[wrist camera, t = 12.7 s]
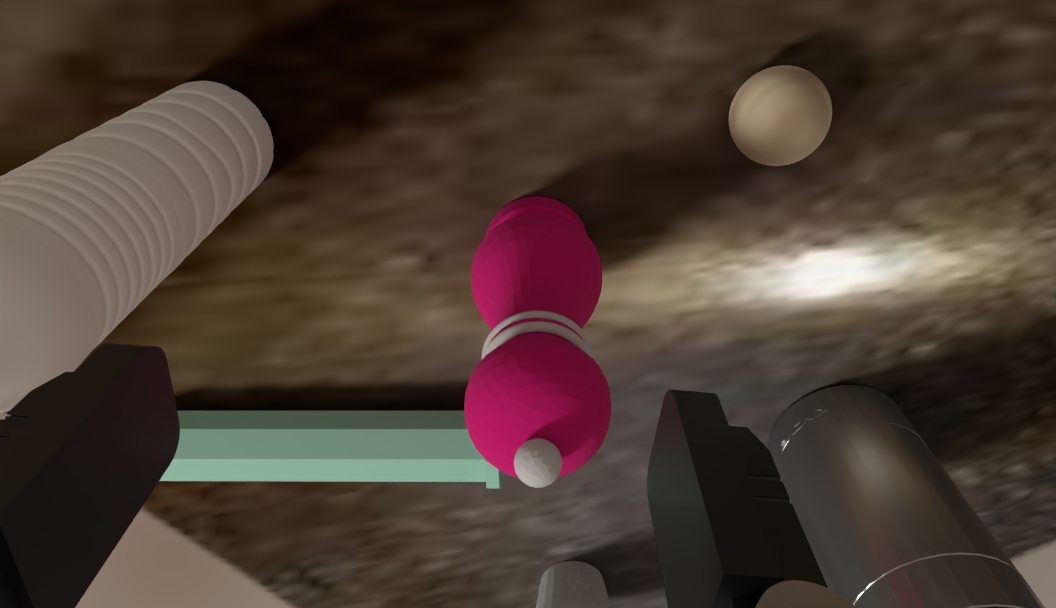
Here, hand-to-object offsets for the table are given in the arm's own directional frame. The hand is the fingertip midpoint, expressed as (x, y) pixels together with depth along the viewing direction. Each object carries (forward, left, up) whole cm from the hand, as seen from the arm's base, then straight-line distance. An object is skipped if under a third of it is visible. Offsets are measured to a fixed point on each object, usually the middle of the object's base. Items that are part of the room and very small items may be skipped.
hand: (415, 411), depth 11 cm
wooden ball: (-13, -6, -30) cm, 33 cm away
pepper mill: (-8, +8, -30) cm, 32 cm away
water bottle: (+10, +14, -30) cm, 34 cm away
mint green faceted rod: (-4, +28, -30) cm, 41 cm away
